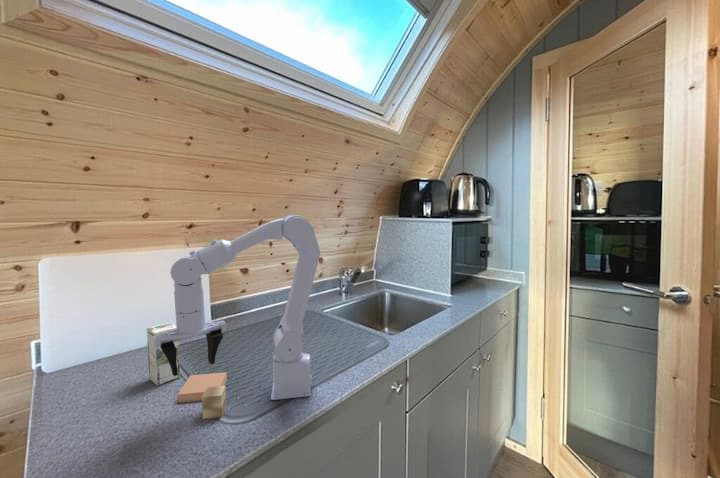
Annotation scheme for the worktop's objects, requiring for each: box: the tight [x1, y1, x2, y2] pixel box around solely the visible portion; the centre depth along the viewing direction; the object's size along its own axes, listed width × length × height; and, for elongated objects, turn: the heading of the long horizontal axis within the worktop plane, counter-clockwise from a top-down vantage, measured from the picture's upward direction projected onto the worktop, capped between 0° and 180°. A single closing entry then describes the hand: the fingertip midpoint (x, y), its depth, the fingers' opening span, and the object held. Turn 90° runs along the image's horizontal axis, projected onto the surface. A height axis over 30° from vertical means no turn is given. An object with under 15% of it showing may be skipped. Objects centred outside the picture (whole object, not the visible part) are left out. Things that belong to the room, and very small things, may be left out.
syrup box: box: [146, 322, 181, 387], centre depth 87 cm, size 6×6×14 cm
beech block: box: [201, 385, 227, 420], centre depth 73 cm, size 4×4×5 cm
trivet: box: [177, 371, 228, 404], centre depth 82 cm, size 9×9×2 cm
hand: (193, 368), depth 74 cm, fingers open, 7 cm apart
